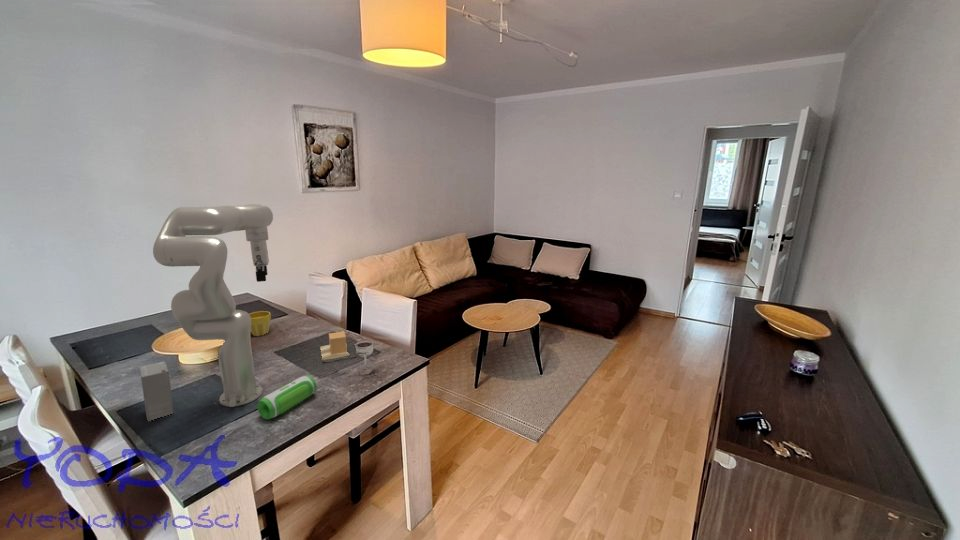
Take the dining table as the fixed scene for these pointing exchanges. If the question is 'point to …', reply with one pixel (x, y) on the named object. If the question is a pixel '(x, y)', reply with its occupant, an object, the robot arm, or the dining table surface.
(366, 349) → the wineglass
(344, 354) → the holder
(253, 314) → the plant pot
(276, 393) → the speaker
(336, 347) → the tan block
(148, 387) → the skincare box
